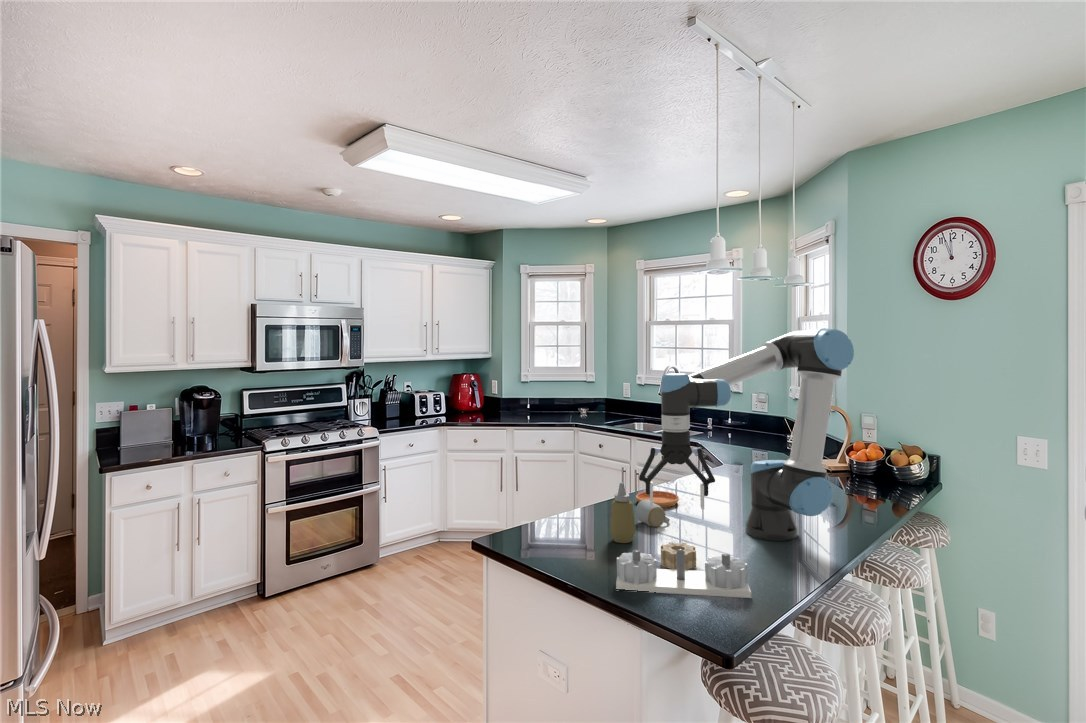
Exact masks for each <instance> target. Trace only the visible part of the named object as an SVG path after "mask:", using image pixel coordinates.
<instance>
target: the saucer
mask: <svg viewBox="0 0 1086 723" xmlns="http://www.w3.org/2000/svg"><path fill="white" fill-rule="evenodd" d="M635 500H636V501H637V502H638V503H639V502H640V501H642V500H650V494H646V491H642V492H639V493H637V494H636V495H635ZM678 502H679V495H677V494H676V493H672V492H670V491H664V490H653V503H655V504H656V505H658V506H660V507H661V508H662V509H666V507H668V508H672V507H674V506H675V505H676V504H677V503H678ZM673 505H674V506H673ZM671 506H672V507H671Z"/></svg>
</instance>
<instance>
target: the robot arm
mask: <svg viewBox="0 0 1086 723" xmlns="http://www.w3.org/2000/svg"><path fill="white" fill-rule="evenodd" d="M852 342H853V341H852V340H851V339H850V338H849V336H848V335H847V334H846V333H845V332H843V331H842V330H839V329H836V328H816V329H799V330H795V331H791V332H789V333H786V334H783V335H781V336H779V337H776V338H774V339H771V340H769V341H766V342H764V343H763V344H762V345H761V347H759V348H757V349H754V350H751V351H748V352H747V353H746V352H745V353H743V354H741V355H738V356H736V357H733V358H730V359H727V360H725V361H722V362H720V363H717V364H715V365H712V366H708V367H706V368H704V369H702V370H698V371H696V372H694V373H691V374H688V373H678V372H677V373H664V374H663V375H662V376H661V381H660V393H661V394H660V398H661V401H660V402H661V428H662V429H663V430H662V431H661V447H655V446H651V447H650V449H649V450H650V453H649V455H648V457H647V460H646V462H645V463H644V466H643V468H642V470H641V471H640V474H639V475H638V480H639V481H640V482H644V483H645V492H646V494H650V507H653V491H654V487H653V484H654V481H653V479H654V478H655V477H656V476H657V475H658V474H659V472H660V471H661V470H662V469H663V468H664V467H665V466H666V465H667V464H670V465H683V464H686V465H687V466H688V467H689V468H690V469H691V471H692V472H693V473H694V474H695V476H696V477H698V479H699V480H700V481H701V482H700V483H699V484H700V485H699V487H700V489H699V490H700V492H699V493H700V495H699V496H700V508H701V510H705V497H708V496H709V485H710V484H712V483H715V482H716V479H715V476H714V474H713V473H712V471H711V469H710V467H709V465H708V462H707V461H706V459H705V458H704V455H703V449H702V447H701V446H698V447H697V448H696V447H695V448H691V432H690V430H689V429H690V428H691V422H690V421H691V419H690V418H691V417H690V412H691V408H706V407H711V408H712V407H715V408H718V407H722V406H723V407H724V406H726V405H728V404H729V402H730V401H731V397H732V394H731V393H732V390H731V386H733V385H736V384H739V383H741V382H744V381H746V380H749V379H751V378H754V377H756V376H758V375H761V374H764V373H768V372H769V371H773V372H778V371H781V370H784V369H790V368H797V369H796V370H797V371H796V372H797V374H798V376H800V378H801V382H800V388H799V394H798V400H797V401H798V402H797V408H796V415H795V421H794V428H793V435H792V442H791V449H790V454H789V458H788V459H786V460H785V459H767V460H765V459H763V460H755V461H753V462H752V463H751V464H750V472H749V474H750V502H751V503H750V507H751V508H750V509H749V514H748V516H747V520H746V521H745V522H746V523H745V532H746V533H747V534H748V535H750V536H752V537H754V538H756V539H761V540H765V541H773V542H783V541H784V542H785V541H790V540H795V539H796V538H797V537H798V526H797V524H796V522H795V519H794V514H793V512H794V513H796V514H798V515H803V516H806V517H815V516H819V515H820V514H822V513H823V512H825V511H826V510H828V508H829V507H830V505H831V503H832V500H833V496H834V490H833V487H832V486H831V483H830V482H829V481H828V480H827V479H826V478H827V468H825V467H824V466H823V459H824V451H825V445H826V438H827V432H828V427H829V426H828V425H829V418H830V411H831V405H832V400H833V392H834V386H835V385H834V384H835V382H836V381H839V379H841V378H842V372H843V370H845V369H846V368H848V367H849V365H851V363H852V362H853V360H854V355H855V349H854V345H853V343H852ZM659 453H660V454H661V455H662V458H661V460H660V461H659V462H658V464H657V465H655V467H654V468H653V469H652V470H651V472H649V473H648V471H649V470H650V467H651V465H652V463H653V461H654V459H655V457H656V456H658V455H659ZM692 454H694V456H695V457H698V459H699V461H700V463H701V466H702V468H703V469H704V471H705V473H706V476H707V477H705V475H704V474H703V473H702V471H700V470H699V468H698V467H697V466H696V465H695V464H694V462H692V459H690V456H691V455H692ZM647 473H648V475H647ZM646 475H647V476H646Z"/></svg>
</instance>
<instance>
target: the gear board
mask: <svg viewBox="0 0 1086 723" xmlns="http://www.w3.org/2000/svg"><path fill="white" fill-rule="evenodd" d="M676 560H677V570H672V569H670V568H668V569H666V568H657V558H654V557H653V555H652V554H650V553H644V552H641V550H639V549H633V550H632V552H623V553H621V555H620V556H617V557H616V581H615V590H616V589H625V590H638V591H649V592H648V593H654V592H656V594H657V593H658V594H673V595H675V594H676V595H691V596H692V595H693V596H694V595H695V596H696V595H697V596H707V597H710V596H711V597H724V598H725V597H727V598H741V599H742V598H743V599H744V598H746V599H752V590H751V588H750V586H749V581H748V578H749V576H748V575H749V573H748V563H747V562H744V561H743V560H741V558H739V557H733V556H732V557H731V555H730V554H729V553H722V554H720V555H719V556H709V557H707V560H705V561H704V570H691V569H688V570H685V553H684V551H683V550H682V549H678V550H677V552H676Z"/></svg>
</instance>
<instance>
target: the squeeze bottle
mask: <svg viewBox="0 0 1086 723" xmlns="http://www.w3.org/2000/svg"><path fill="white" fill-rule="evenodd" d="M630 498H631V497H630V494H629V493H627V491H626V487H625V483H624V482H619V485H618V490H617V492H616V493H615V494H614V500H613V501H612V502H611V509H610V510H611V511H610V521H609V522H610V523H609V532H610V534H611V536H612V541H613V542H615V543H619V544H630V543H632V541H633V539H634V537H635V533H636V528H637V527H636V521H635V513H634V506H633V505H634V504H633V502H632V501H631V500H630Z"/></svg>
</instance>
